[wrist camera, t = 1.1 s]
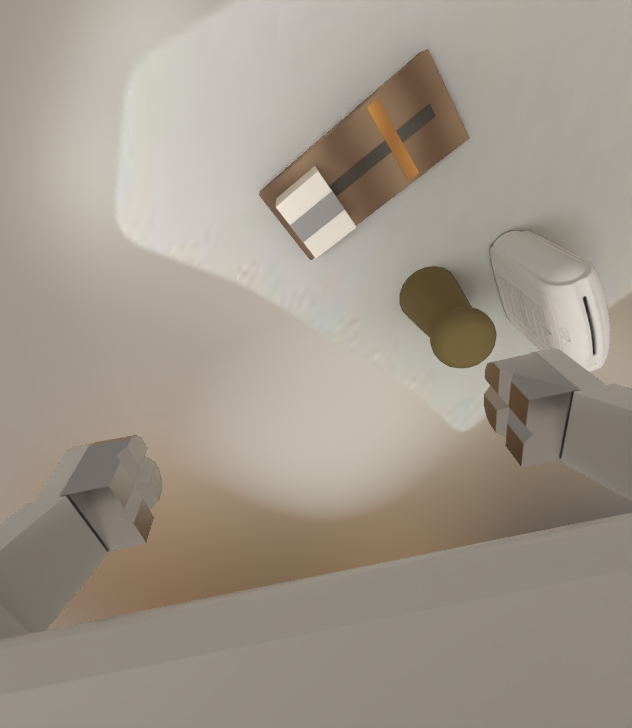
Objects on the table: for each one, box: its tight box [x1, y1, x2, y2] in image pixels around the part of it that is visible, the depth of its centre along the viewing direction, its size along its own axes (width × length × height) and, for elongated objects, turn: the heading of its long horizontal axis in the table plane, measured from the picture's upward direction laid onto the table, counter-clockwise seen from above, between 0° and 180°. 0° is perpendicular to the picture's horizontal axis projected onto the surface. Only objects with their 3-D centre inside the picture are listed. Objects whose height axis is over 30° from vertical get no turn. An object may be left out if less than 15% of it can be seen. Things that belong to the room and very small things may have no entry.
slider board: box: [259, 49, 469, 260], centre depth 33 cm, size 16×7×2 cm, turn 126°
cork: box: [400, 266, 496, 368], centre depth 37 cm, size 6×6×11 cm
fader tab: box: [276, 166, 356, 258], centre depth 32 cm, size 4×5×4 cm
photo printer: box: [490, 230, 610, 372], centre depth 36 cm, size 10×4×12 cm, turn 27°
